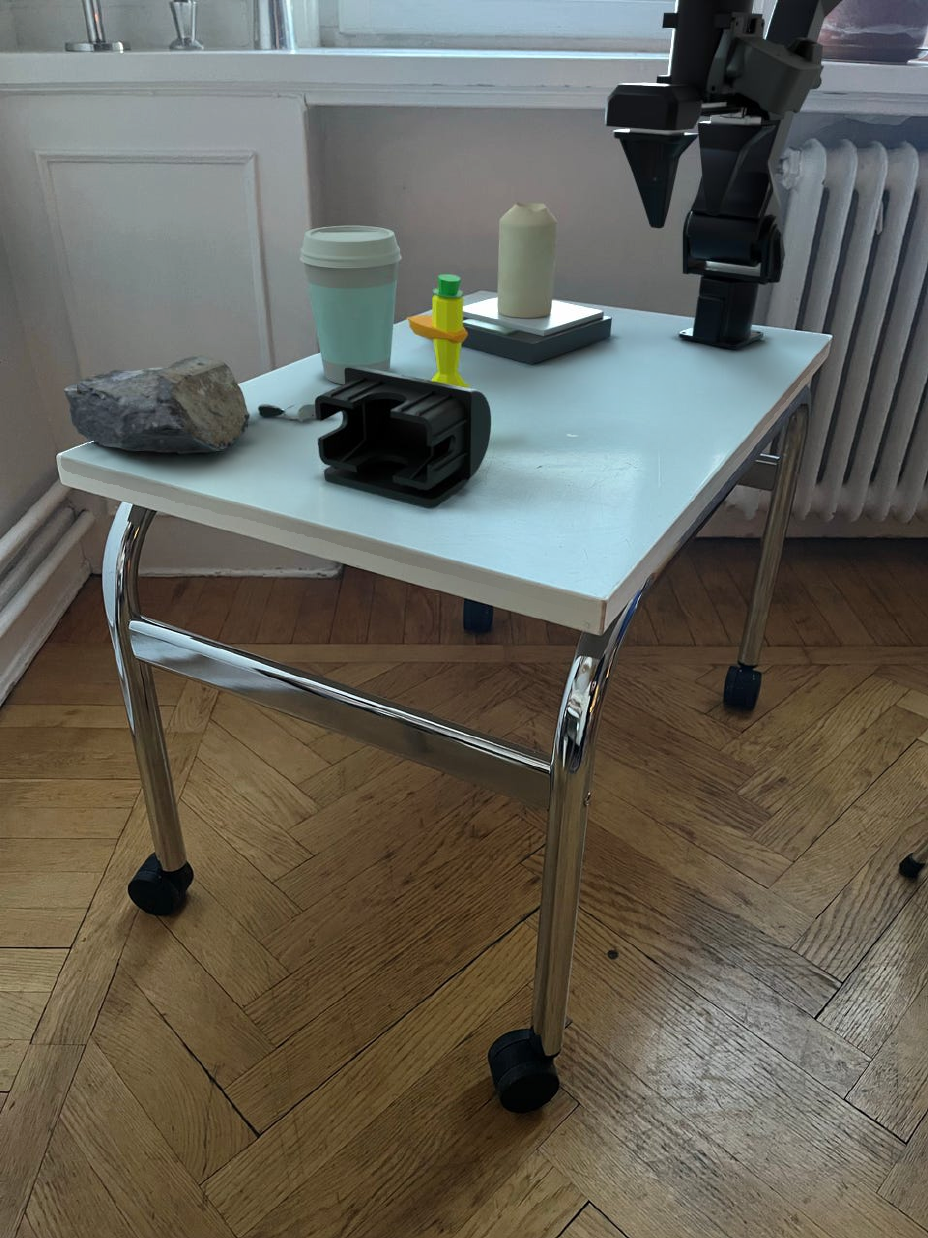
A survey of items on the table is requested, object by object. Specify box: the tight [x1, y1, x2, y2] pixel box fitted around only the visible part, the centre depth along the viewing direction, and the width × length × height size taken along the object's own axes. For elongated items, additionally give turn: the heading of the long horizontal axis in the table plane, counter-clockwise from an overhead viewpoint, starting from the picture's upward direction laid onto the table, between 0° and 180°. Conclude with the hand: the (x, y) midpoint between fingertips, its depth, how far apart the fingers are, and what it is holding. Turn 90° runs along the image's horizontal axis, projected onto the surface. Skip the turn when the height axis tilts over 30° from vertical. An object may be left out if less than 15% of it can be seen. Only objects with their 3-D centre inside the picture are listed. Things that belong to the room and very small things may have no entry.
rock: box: [63, 355, 251, 455], centre depth 67 cm, size 14×11×5 cm
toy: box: [257, 403, 316, 423], centre depth 72 cm, size 1×8×2 cm
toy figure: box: [406, 273, 473, 389], centre depth 66 cm, size 7×4×12 cm, turn 43°
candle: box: [496, 202, 558, 318], centre depth 89 cm, size 6×6×10 cm
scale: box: [461, 297, 613, 365], centre depth 93 cm, size 13×13×3 cm
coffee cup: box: [299, 225, 403, 385], centre depth 79 cm, size 8×8×12 cm
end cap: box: [314, 366, 492, 509], centre depth 62 cm, size 10×7×7 cm
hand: (685, 220), depth 77 cm, fingers open, 9 cm apart
